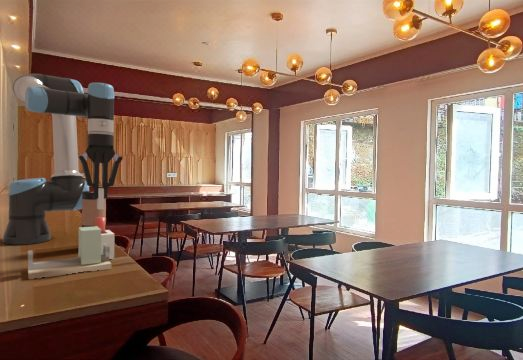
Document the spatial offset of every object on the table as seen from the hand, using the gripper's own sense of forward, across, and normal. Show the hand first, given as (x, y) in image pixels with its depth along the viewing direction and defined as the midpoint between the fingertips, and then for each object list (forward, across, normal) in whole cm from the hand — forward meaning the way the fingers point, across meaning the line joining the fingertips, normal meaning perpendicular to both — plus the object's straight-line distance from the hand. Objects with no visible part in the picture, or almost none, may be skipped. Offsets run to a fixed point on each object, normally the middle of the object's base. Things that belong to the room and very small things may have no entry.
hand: (100, 208), depth 117 cm
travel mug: (+16, 0, +14) cm, 21 cm away
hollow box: (+16, 0, 0) cm, 16 cm away
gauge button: (+8, 0, 0) cm, 8 cm away
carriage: (+14, -5, -10) cm, 18 cm away
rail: (+16, -10, -10) cm, 21 cm away
